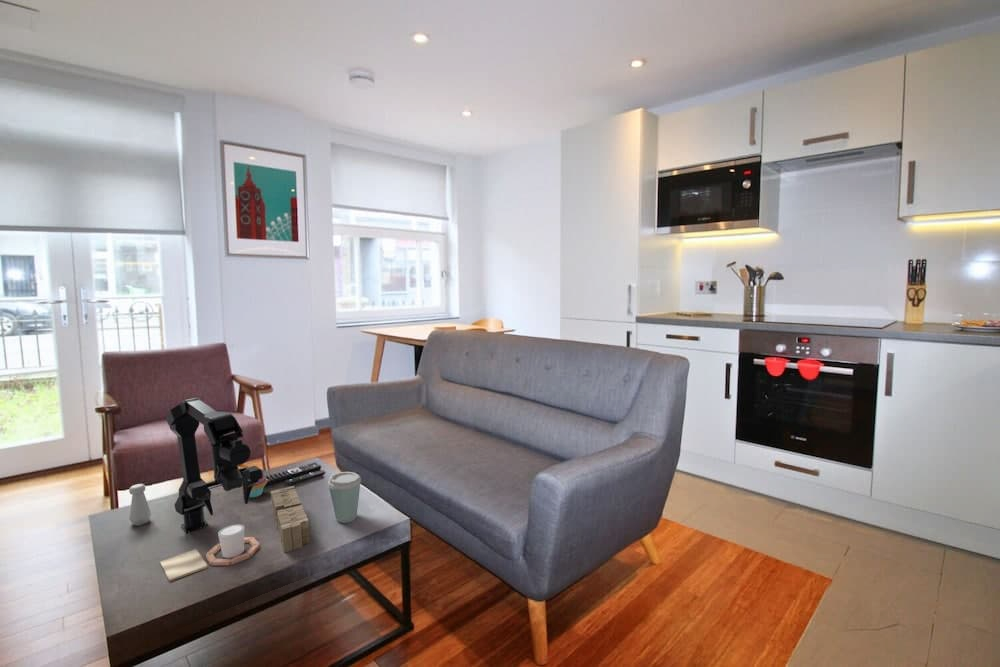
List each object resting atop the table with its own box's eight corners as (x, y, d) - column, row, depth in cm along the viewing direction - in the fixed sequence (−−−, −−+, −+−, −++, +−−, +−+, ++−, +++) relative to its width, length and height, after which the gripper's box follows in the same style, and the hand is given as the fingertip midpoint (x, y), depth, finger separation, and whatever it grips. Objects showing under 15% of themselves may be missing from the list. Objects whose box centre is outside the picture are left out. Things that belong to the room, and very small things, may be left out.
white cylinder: (240, 543, 149) (238, 521, 148) (250, 551, 145) (248, 528, 144) (216, 553, 144) (214, 531, 143) (225, 561, 140) (223, 538, 139)
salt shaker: (125, 525, 161) (121, 488, 160) (143, 517, 167) (138, 480, 165) (139, 528, 159) (134, 490, 158) (155, 519, 165) (151, 482, 163)
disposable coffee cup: (357, 507, 171) (355, 466, 169) (367, 520, 162) (365, 477, 160) (326, 516, 165) (323, 474, 163) (335, 530, 156) (332, 485, 154)
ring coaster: (202, 552, 144) (202, 549, 144) (249, 535, 154) (249, 532, 153) (215, 571, 135) (214, 567, 135) (264, 551, 144) (264, 548, 144)
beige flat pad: (160, 563, 139) (160, 561, 139) (196, 550, 146) (196, 548, 145) (169, 582, 131) (169, 579, 131) (207, 567, 137) (207, 565, 137)
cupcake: (237, 499, 178) (234, 468, 177) (250, 489, 187) (247, 459, 185) (260, 499, 178) (258, 468, 177) (272, 489, 186) (269, 459, 185)
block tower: (311, 548, 148) (296, 506, 173) (309, 522, 147) (295, 484, 172) (283, 556, 144) (272, 512, 169) (281, 529, 143) (270, 489, 168)
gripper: (194, 474, 130) (200, 530, 131) (267, 455, 143) (272, 506, 144) (183, 464, 137) (189, 517, 139) (254, 447, 150) (258, 495, 152)
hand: (229, 509), depth 143 cm, fingers open, 9 cm apart
